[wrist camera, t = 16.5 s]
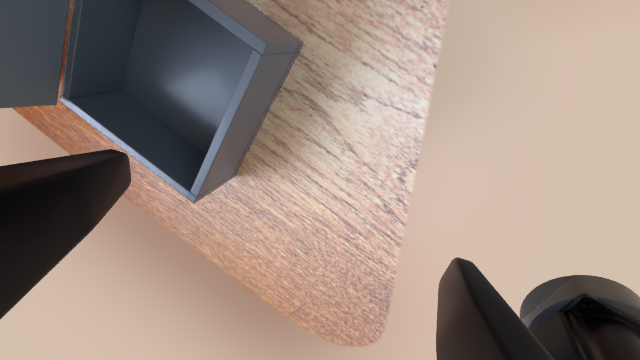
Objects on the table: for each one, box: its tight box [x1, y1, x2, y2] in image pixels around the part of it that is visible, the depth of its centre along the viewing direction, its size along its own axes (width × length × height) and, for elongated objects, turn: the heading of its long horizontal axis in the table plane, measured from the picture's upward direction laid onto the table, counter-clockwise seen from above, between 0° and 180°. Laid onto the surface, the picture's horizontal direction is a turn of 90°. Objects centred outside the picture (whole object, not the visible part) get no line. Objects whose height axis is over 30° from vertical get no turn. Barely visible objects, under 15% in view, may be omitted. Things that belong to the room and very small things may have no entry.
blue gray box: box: [60, 0, 303, 203], centre depth 20 cm, size 11×11×5 cm
